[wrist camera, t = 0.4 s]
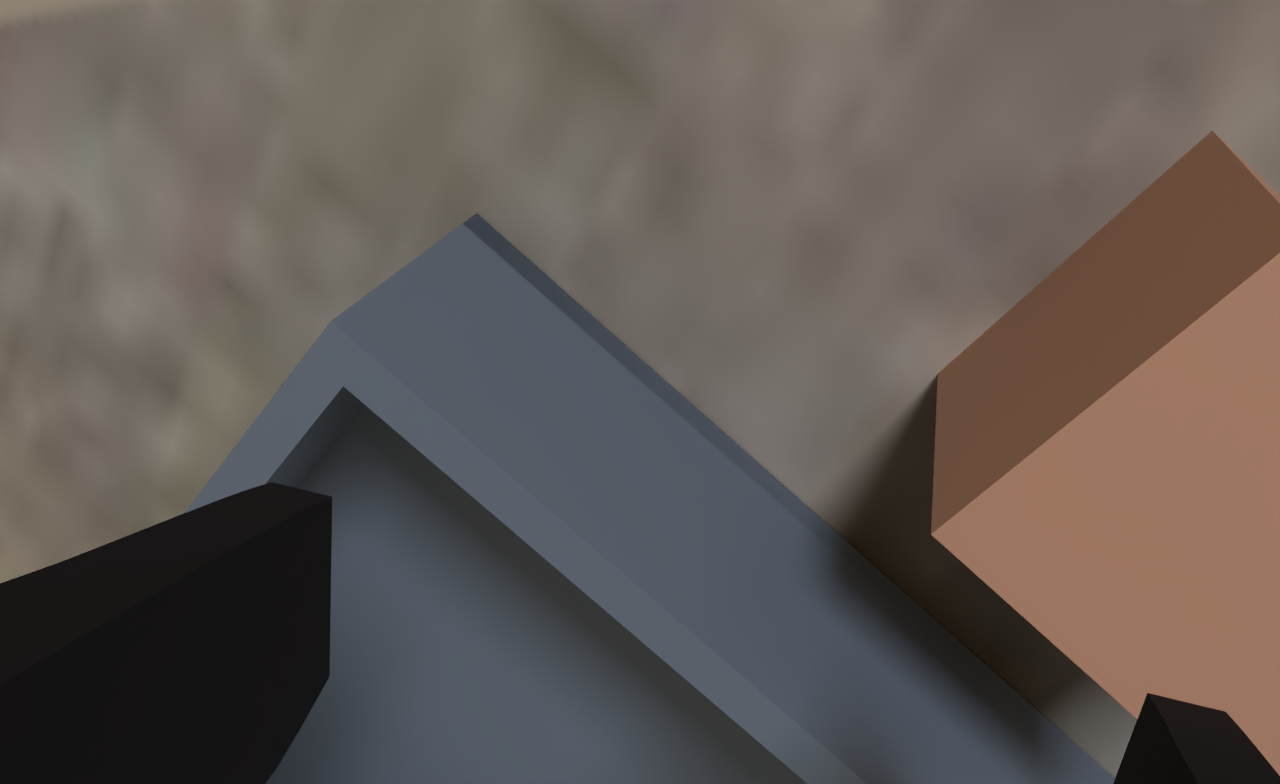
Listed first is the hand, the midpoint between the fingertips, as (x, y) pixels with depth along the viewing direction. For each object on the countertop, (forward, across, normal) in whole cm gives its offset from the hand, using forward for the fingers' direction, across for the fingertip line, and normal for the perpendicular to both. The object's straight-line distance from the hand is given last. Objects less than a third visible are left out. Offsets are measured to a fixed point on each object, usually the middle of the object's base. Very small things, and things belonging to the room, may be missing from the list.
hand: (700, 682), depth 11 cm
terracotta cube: (+9, -5, 0) cm, 11 cm away
